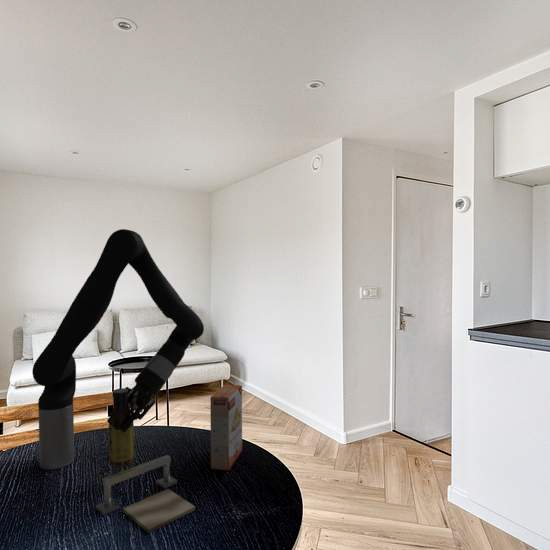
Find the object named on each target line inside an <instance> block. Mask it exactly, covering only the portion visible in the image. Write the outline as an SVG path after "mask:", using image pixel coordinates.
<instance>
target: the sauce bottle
mask: <svg viewBox="0 0 550 550" xmlns="http://www.w3.org/2000/svg"><path fill="white" fill-rule="evenodd" d="M128 394H129V391H128V389H126V387H124V388H123V387H121V388H117V389H113V390H112V398H113V399H112V401H113V405H112V411H111V413H110V416H109V417H110V418H109V417H108V419H109V423H108V441H109V442H108V443H109V445H108V446H109V447H108V448H109V452H108V453H109V461H110V465H111V466H112V467H114V468H116V467H117V468H123V467H127V466H129V465H130V464H132V463H133V462H134V461H135V457H134V456H135V429H134V428H135V427H134V422H133V423H132V424H131V425H130V427H129V428H128V429H127V430H126V432H123V431H121V430H120V429H119V428H118V427H119V425H120V424H121V423H122V421H123V420H124V419H125V418H126V416H127V415H128V414H129V412H130V408H129V407H128ZM128 416H129V415H128Z"/></svg>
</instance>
